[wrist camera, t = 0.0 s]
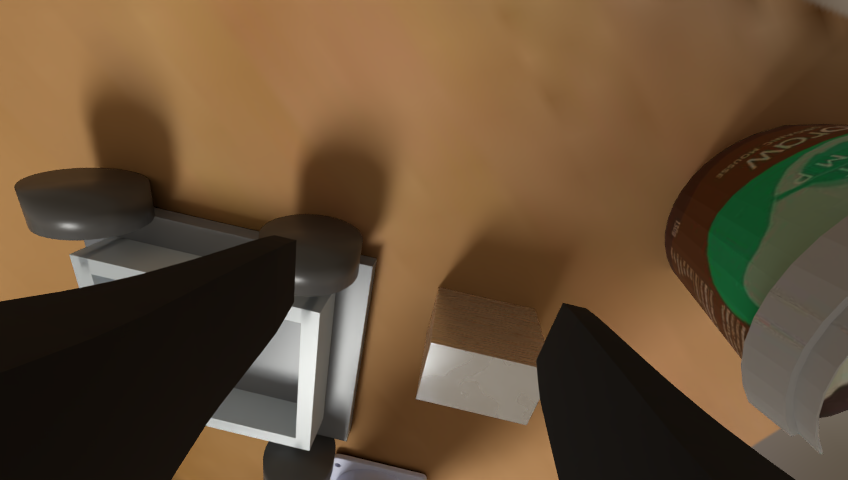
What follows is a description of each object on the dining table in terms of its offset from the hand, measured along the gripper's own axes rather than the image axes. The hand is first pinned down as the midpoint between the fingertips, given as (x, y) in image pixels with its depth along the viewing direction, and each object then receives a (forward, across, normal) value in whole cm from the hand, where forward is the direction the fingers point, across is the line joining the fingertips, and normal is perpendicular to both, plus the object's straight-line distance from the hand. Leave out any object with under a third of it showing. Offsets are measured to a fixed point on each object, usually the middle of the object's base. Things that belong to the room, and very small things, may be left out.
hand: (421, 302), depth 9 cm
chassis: (+10, +12, +13) cm, 20 cm away
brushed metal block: (+10, -4, +8) cm, 14 cm away
